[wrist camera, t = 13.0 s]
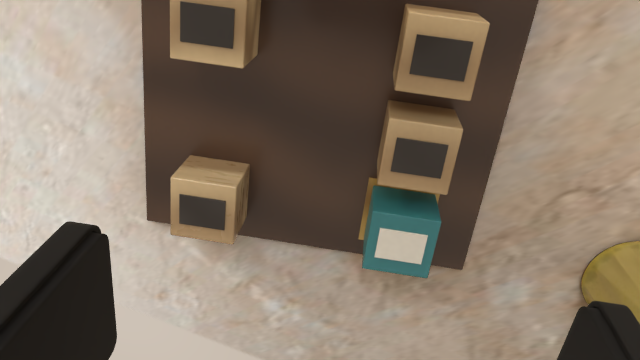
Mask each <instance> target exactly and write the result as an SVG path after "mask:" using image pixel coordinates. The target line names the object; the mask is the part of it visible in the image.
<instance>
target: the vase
mask: <svg viewBox="0 0 640 360" xmlns="http://www.w3.org/2000/svg"><path fill="white" fill-rule="evenodd" d="M581 286H582V292H583V296H584V298H585V300H586V302H587V303H588V304H590V303H591V302H592V301H601V302H608V303H615V304H621V305H625V306H627V307H628V308H629V309H630V310H631V311H632V313H633V314H634V316H635V317H636V319H637V321H638V322H639V324H640V241H635V242H626V243H622V244H618V245H615V246H613V247H610V248H608V249H606V250H605V251H603V252H602V253H600V254H599V255H597V256H596V257H595V258H594V259H593V260H592V261H591V262H590V264H589V265H588V267H587V268H586V270H585V272H584V274H583V277H582V283H581Z"/></svg>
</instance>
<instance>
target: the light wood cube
mask: <svg viewBox="0 0 640 360" xmlns="http://www.w3.org/2000/svg"><path fill="white" fill-rule="evenodd" d="M260 9H261V0H170V58H172V59H179V60H186V61H193V62H200V63H207V64H214V65H221V66H228V67H235V68H244V67H245V66H246V65H247V64H248V63H249V62H250V61H251V60H252V59H253V58H255V57H256V56H257V53H258V38H259V24H260Z"/></svg>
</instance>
